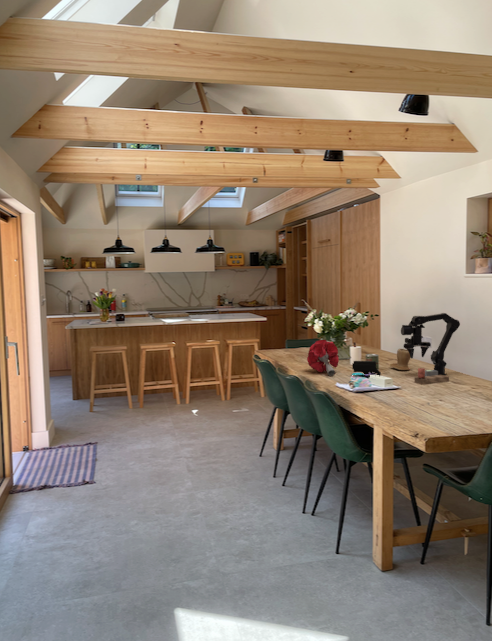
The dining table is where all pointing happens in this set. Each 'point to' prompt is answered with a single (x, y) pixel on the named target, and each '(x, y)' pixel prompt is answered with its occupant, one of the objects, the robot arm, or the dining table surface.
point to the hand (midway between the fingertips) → (417, 357)
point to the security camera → (365, 367)
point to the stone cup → (402, 360)
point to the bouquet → (323, 356)
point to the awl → (421, 373)
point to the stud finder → (431, 372)
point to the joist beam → (432, 379)
